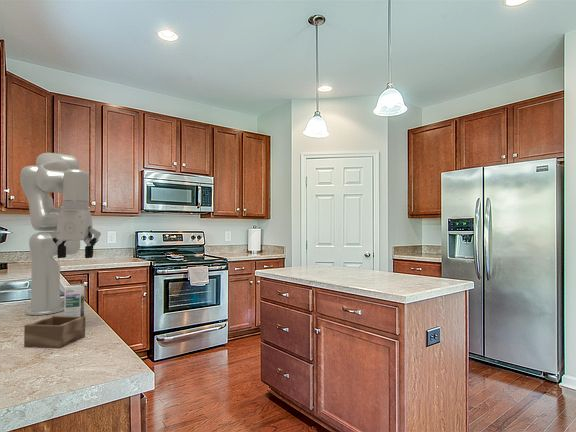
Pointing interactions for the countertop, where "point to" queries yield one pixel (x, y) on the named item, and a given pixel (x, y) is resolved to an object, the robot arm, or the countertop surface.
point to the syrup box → (74, 300)
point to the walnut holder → (54, 331)
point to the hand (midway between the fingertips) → (75, 257)
